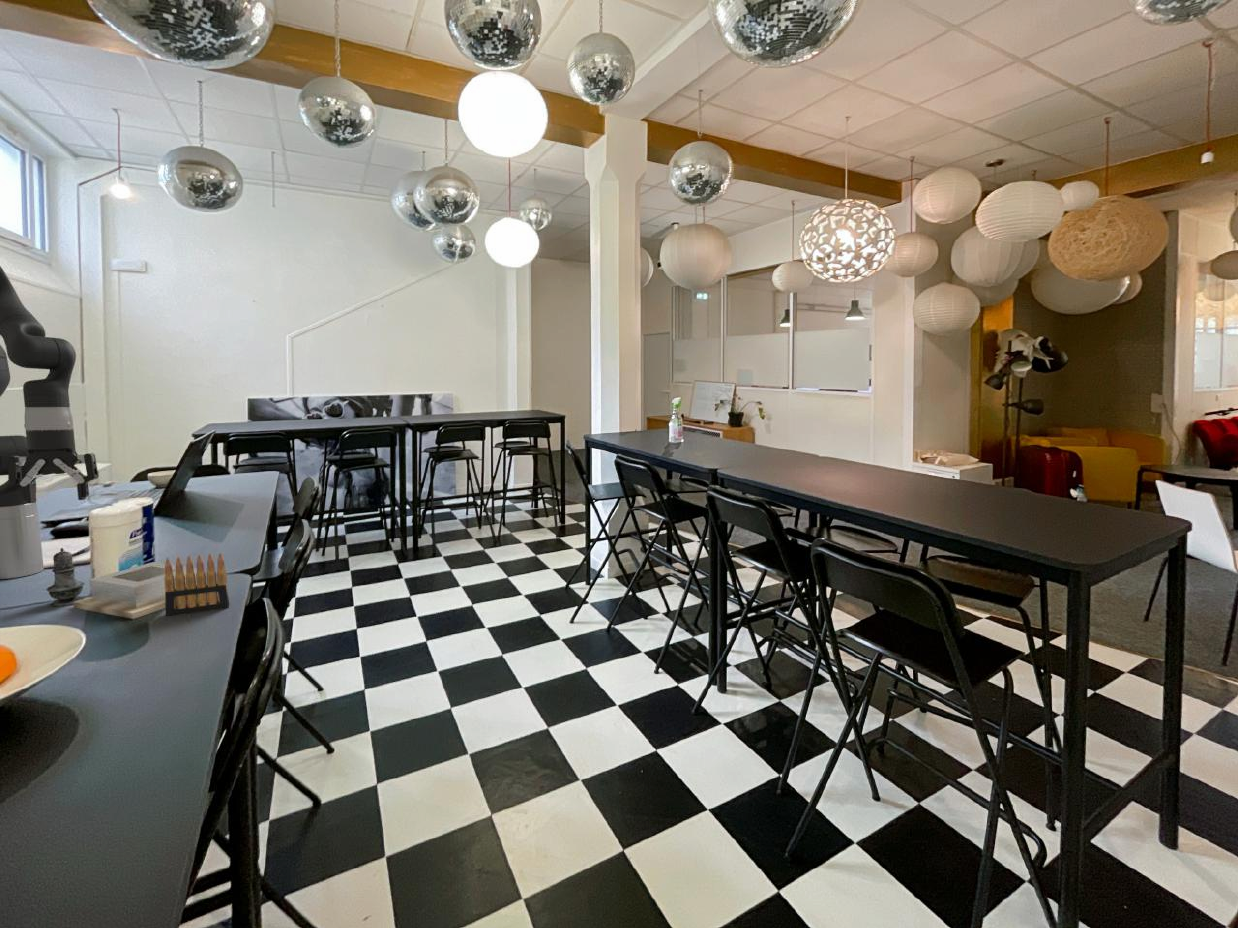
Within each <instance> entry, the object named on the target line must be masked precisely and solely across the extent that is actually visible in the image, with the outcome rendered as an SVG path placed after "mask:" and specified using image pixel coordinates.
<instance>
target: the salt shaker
mask: <svg viewBox="0 0 1238 928" xmlns="http://www.w3.org/2000/svg"><path fill="white" fill-rule="evenodd" d="M52 556H53V557H52V558H53V567H54V568H53V569H52V570H51V572H52V573H54V582H53V584H52V585H51V586H47V588H46V591H47V592H48V594H49V596H50V597H51V598H53V599H54V600H53V601H52V602H51V603H50V604H49V606H50V607H53V608H62V607H68V606H74V603H73V602H75V601H79V600H82V599H85V597H82V596H79V595H80V594H81V593H82V591H83V589H84V585H85V582H84V581H78V580H77V578H76V577H75V576H76V575H75V569H76V568H77V567H76V566H75V565H74V563H73V554H72V553H71V552H70V551H65V549H64V548H63V547H61V548H60V550H59V552H56V553H55V554H54V555H52Z"/></svg>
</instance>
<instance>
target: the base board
mask: <svg viewBox="0 0 1238 928" xmlns="http://www.w3.org/2000/svg"><path fill="white" fill-rule="evenodd" d="M186 596H187V595H186ZM73 603H74V605H73V608H74V609H79V610H84V611H85V610H86V611H91V612H96V613H101V614H105V615H111V616H116V617H122V618H127V619H131V620H135V619H137V618H140V617H143V616H146V615H149V614H152V613H154V612H157V611H161V610H163V609H165V599H163V600H160V601H157V602H154V603H151V604H148V605H145V606H142V607H139V608H132V607H127V606H121V605H116V604H110V603H105V602H100V601H94V600H91V596H89V597H86V598H85V597H84V599H82V600H79V601H75V602H73ZM176 604H177V598H176Z"/></svg>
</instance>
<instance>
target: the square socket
mask: <svg viewBox="0 0 1238 928" xmlns="http://www.w3.org/2000/svg"><path fill="white" fill-rule="evenodd" d="M165 563H166V562H165ZM165 563H164V562H158V561H152V562H148V563H145V564H140V565H137V566H134V567H130V568H127V569H123V570H118V571H116V572H112V573H108V574H104V575H101V576H97V577H94V578H90V579H89V589H90V597H91V600H94V601H100V602H105V603H110V604H116V605H121V606H127V607H132V608H139V607H142V606H145V605H148V604H151V603H154V602H157V601H160V600H163V599H165V581H164V579H165ZM193 568H194V573H195V578H196V573H197V567H193ZM172 571H173V576H174V580H175V576H176V564H172ZM183 571H184V576H185V584H186V565H185V566H183ZM196 586H197V583H196ZM175 589H176V584H175Z"/></svg>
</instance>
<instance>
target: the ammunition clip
mask: <svg viewBox="0 0 1238 928" xmlns="http://www.w3.org/2000/svg"><path fill="white" fill-rule="evenodd" d="M182 561H183V560H182V559H181V558H180V557H179V556H177V558H176V562H175V565H176V576H175V580H174V576H173V571H172V565H173V563H172V561H171V560H170V558H169V557H168V558H166V560H165V579H164V581H165V608H164V610H165V617H173V616H180V615H187V614H195V613H203V612H209V611H217V610H223V609H225V610H226V609H229V608H230V597H229V591H228V581H227V579H228V577H227V571H226V566H225V559H224V556H223V554H222V552H219V554H218V556H217V571H216V568H215V563H214V558H213V555H212V554H211V553H209V554H208V556H207V562H206V565H207V567H206V570H207V571H206V572H205V564H204V559H203V557H202V555H200V554H199V555H198V556H197V559H196V568H197V573H196V578H195V573H194V568H195V567H194V562H193V559H192V557H191V556H190V555H188V556H187V559H186V565H185V567H186V584H185V576H184V571H183V562H182ZM196 583H197V586H196ZM175 584H176V589H175ZM186 595H187V596H186ZM176 598H177V604H176Z"/></svg>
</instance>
